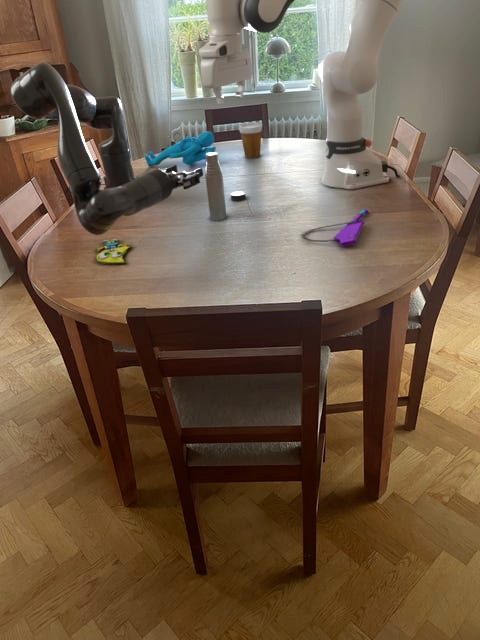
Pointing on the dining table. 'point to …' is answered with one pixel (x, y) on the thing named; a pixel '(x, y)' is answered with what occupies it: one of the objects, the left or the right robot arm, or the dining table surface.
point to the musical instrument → (345, 231)
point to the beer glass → (251, 139)
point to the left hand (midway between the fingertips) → (188, 170)
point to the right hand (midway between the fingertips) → (230, 100)
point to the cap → (238, 196)
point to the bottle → (215, 187)
